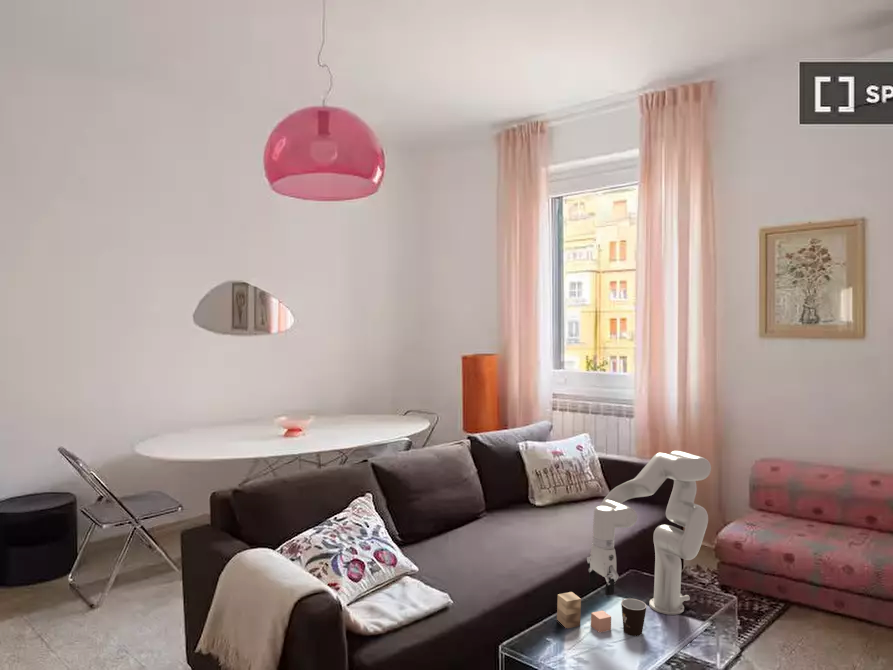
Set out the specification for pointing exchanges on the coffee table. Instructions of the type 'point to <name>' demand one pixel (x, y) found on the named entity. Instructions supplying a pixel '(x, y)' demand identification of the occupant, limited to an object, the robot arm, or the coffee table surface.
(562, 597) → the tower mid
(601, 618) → the terracotta block
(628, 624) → the coffee mug
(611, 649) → the coffee table surface
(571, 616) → the tower base
